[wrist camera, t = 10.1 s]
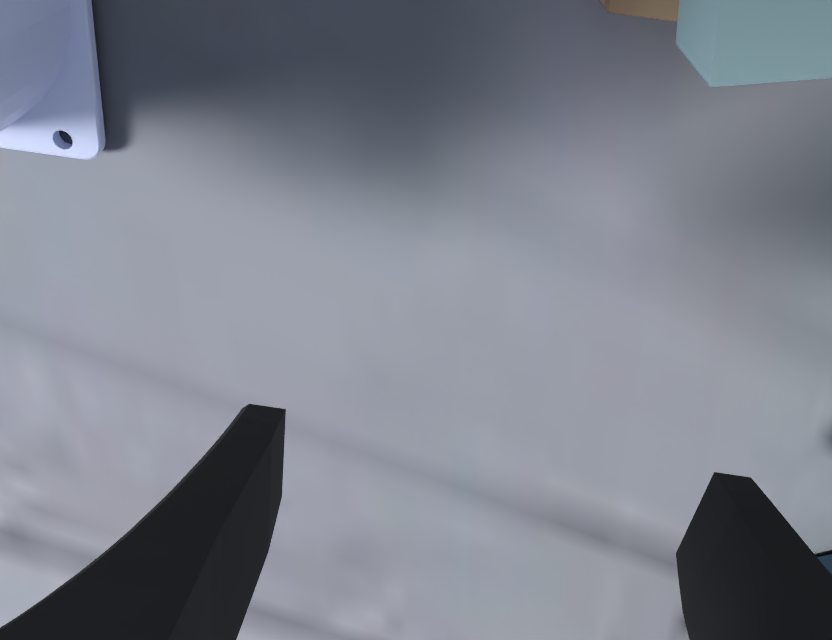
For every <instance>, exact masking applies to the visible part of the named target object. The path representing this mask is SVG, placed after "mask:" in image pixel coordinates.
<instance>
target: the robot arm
mask: <svg viewBox="0 0 832 640" xmlns="http://www.w3.org/2000/svg"><path fill="white" fill-rule="evenodd" d="M59 130H62V131H65V132H67V133H68V134H69V135H70V136H71V138H72V141H73V143H72V144H69V143H66V142H65V141H64V140H63V139H61V137H60V134H59ZM104 147H105V131H104V121H103V111H102V101H101V91H100V81H99V71H98V61H97V51H96V41H95V32H94V22H93V12H92V2H91V0H0V148H6V149H14V150H21V151H28V152H35V153H42V154H49V155H56V156H63V157H70V158H77V159H84V160H86V159H93V158H95V157H97V156H98V155H99V154H100V153H101V152H102V150H103V149H104ZM285 412H286V409H280V408H273V407H267V406H260V405H253V404H249V405H247V406H245V407H244V408H242V410H241V411H240V412H239V414H238V415H237V416H236V418H235V419H234V420H233V422H232V423H231V424H230V425H229V427H228V428H227V429H226V430H225V432H224V433H223V434H222V435H221V436H220V438H219V439H218V440H217V441H216V442H215V444H214V445H213V446H212V447H211V448H210V449H209V450H208V452H207V453H206V454H205V455H204V456H203V457H202V458H201V460H200V461H199V462H198V463H197V464H196V465H195V466H194V467H193V468H192V469H191V470H190V471H189V472H188V473H187V475H186V476H185V477H184V478H183V479H182V480H181V481H180V482H179V483H178V484H177V485H176V486H175V487H174V488H173V489H172V490H171V491H170V492H169V493H168V494H167V495H166V496H165V497H164V498H163V499H162V500H161V501H160V502H159V503H158V504H157V505H156V506H155V507H154V508H153V509H152V510H151V511H150V512H149V513H148V514H147V515H146V516H144V517H143V518H142V519H141V520H140V521H139V522H138V523H137V524H136V525H135V526H134V527H133V528H132V529H131V530H130V531H128V532H127V533H126V534H125V535H124V536H123V537H122V538H120V539H119V540H118V541H117V542H116V543H115V544H114V545H112V546H111V547H110V548H109V549H108V550H106V551H105V552H104V553H103V554H102V555H100V556H99V557H98V558H97V559H95V560H94V561H93V562H92V563H90V564H89V565H88V566H87V567H86V568H84V569H83V570H82V571H80V572H79V573H78V574H76V575H75V576H74V577H72V578H71V579H70V580H68V581H67V582H66V583H64V584H63V585H62V586H60V587H59V588H58V589H56V590H55V591H54V592H52V593H51V594H50V595H48V596H47V597H46V598H44V599H43V600H41V601H40V602H38V603H37V604H36V605H34V606H33V607H31V608H30V609H28V610H27V611H25V612H24V613H23V614H21V615H20V616H18V617H17V618H15V619H13V620H12V621H10V622H9V623H7V624H5V625H4V626H2V627H1V628H0V640H236V639H237V636H238V633H239V631H240V628H241V625H242V622H243V620H244V617H245V614H246V611H247V609H248V606H249V603H250V601H251V598H252V595H253V592H254V590H255V587H256V584H257V581H258V579H259V576H260V573H261V570H262V568H263V565H264V562H265V559H266V556H267V554H268V550H269V546H270V542H271V538H272V534H273V530H274V526H275V522H276V518H277V514H278V510H279V505H280V501H281V497H282V479H283V457H284V434H285ZM676 558H677V567H678V577H679V586H680V594H681V601H682V608H683V614H684V618H685V623H686V627H687V631H688V635H689V639H690V640H832V575H831V573H830V572H829V571H828V570H827V569H826V568H825V566H824V565H823V564H822V563H821V562H820V560H819V559H818V558H817V557H816V556H815V555H814V553H813V552H812V551H811V550H810V549H809V547H808V546H807V545H806V544H805V542H804V541H803V540H802V539H801V538H800V536H799V535H798V534H797V533H796V532H795V530H794V529H793V528H792V527H791V525H790V524H789V523H788V522H787V521H786V519H785V518H784V517H783V516H782V514H781V513H780V512H779V511H778V510H777V508H776V507H775V506H774V505H773V503H772V502H771V501H770V500H769V499H768V497H767V496H766V495H765V494H764V493H763V491H762V490H761V489H760V488H759V487H758V486H757V484H756V483H755V482H754V481H753V480H752V479H751V478H750V477H743V476H736V475H730V474H723V473H716V472H714V474H713V476H712V478H711V480H710V483H709V485H708V487H707V489H706V491H705V493H704V495H703V497H702V500H701V502H700V504H699V506H698V508H697V510H696V512H695V514H694V516H693V519H692V521H691V523H690V525H689V527H688V529H687V531H686V533H685V536H684V538H683V540H682V542H681V544H680V546H679V548H678V550H677V552H676Z"/></svg>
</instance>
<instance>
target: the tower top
mask: <svg viewBox="0 0 832 640" xmlns="http://www.w3.org/2000/svg"><path fill="white" fill-rule="evenodd" d="M675 44H676V45H677V46H678V47H679V49H680V50H681V51H682V52H683V54H684V55H685V56H686V57H687V59H688V60H689V61H690V62H691V64H692V65H693V66H694V67H695V69H696V70H697V71H698V72H699V74H700V75H701V76H702V77H703V79H704V80H705V81H706V82H707V84H708V85H709V86H710V87H722V86H735V85H748V84H761V83H774V82H788V81H801V80H814V79H827V78H832V0H679V7H678V19H677V31H676V43H675Z"/></svg>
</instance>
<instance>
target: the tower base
mask: <svg viewBox="0 0 832 640" xmlns="http://www.w3.org/2000/svg"><path fill="white" fill-rule="evenodd" d="M600 1H601V3H602V4H603V6H604V8H605V9H606V11H607V12H608V13H616V14H623V15H630V16H638V17H645V18H652V19H660V20H667V21H674V22H677V19H678V7H679V0H600Z"/></svg>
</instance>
